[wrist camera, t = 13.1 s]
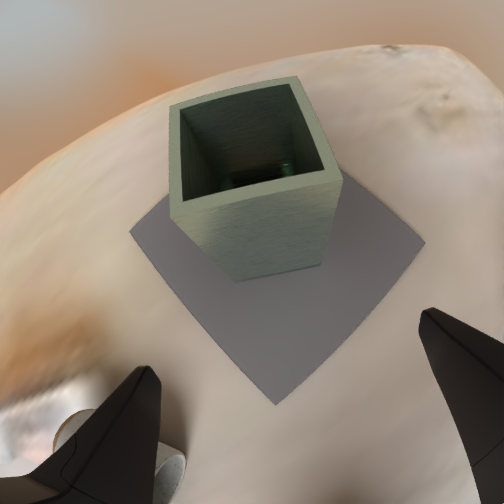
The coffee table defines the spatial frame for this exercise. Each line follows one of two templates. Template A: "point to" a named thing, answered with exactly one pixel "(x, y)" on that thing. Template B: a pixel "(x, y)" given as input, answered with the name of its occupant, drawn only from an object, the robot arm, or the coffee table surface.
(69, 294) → the coffee table surface
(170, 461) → the ceramic mug
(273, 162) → the tin
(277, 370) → the mat
